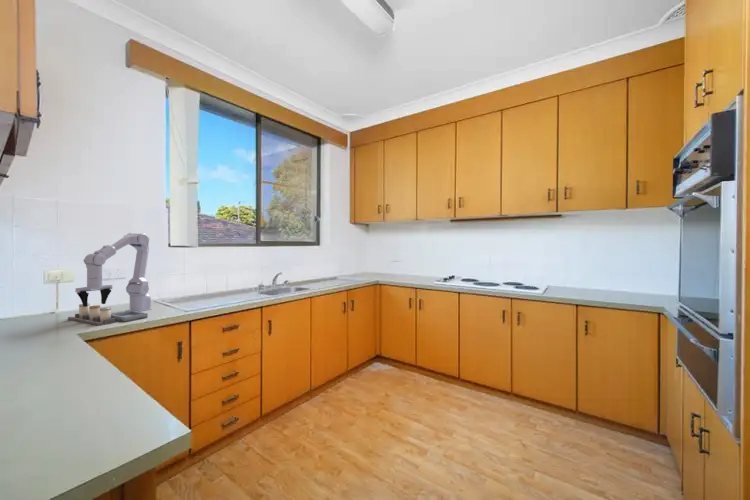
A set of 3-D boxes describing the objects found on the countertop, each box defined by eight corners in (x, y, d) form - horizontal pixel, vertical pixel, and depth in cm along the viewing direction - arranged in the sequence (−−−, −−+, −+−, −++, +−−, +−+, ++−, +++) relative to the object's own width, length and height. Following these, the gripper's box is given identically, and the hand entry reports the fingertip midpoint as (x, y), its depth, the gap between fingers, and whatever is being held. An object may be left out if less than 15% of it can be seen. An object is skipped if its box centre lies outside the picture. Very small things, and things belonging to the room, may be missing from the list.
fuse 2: (107, 320, 161) (107, 306, 160) (112, 321, 159) (112, 307, 159) (97, 322, 157) (97, 308, 157) (102, 323, 155) (102, 309, 155)
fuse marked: (97, 318, 164) (97, 305, 164) (101, 319, 163) (101, 305, 162) (87, 320, 160) (87, 306, 160) (92, 321, 159) (92, 307, 159)
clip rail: (91, 315, 171) (91, 311, 171) (121, 321, 161) (121, 317, 161) (68, 319, 162) (68, 315, 162) (98, 325, 152) (98, 321, 152)
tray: (132, 314, 174) (132, 310, 174) (147, 317, 169) (147, 313, 169) (109, 318, 164) (109, 314, 164) (125, 321, 159) (125, 317, 159)
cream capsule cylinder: (87, 316, 168) (86, 303, 167) (91, 317, 166) (91, 304, 166) (77, 318, 164) (77, 304, 164) (81, 319, 162) (81, 305, 162)
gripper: (106, 276, 169) (106, 301, 169) (71, 278, 156) (71, 306, 156) (114, 277, 166) (114, 303, 167) (80, 279, 153) (80, 308, 153)
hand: (94, 305), depth 161 cm, fingers open, 7 cm apart
